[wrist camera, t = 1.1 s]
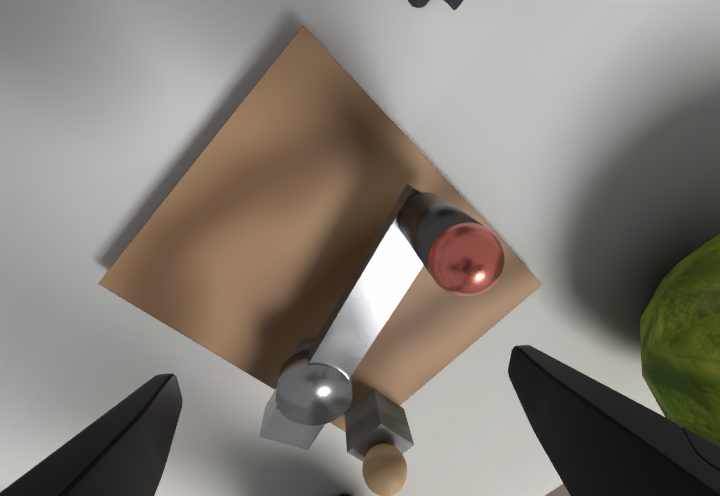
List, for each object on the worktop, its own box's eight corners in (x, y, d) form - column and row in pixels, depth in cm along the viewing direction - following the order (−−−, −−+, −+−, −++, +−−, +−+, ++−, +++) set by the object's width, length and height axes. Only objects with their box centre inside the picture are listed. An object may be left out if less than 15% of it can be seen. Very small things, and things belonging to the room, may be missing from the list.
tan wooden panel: (533, 278, 24) (615, 341, 18) (361, 426, 28) (374, 526, 21) (304, 32, 17) (294, -21, 10) (112, 272, 21) (12, 348, 14)
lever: (316, 422, 23) (315, 576, 16) (256, 404, 22) (222, 560, 14) (458, 204, 19) (556, 269, 11) (391, 166, 17) (447, 208, 10)
